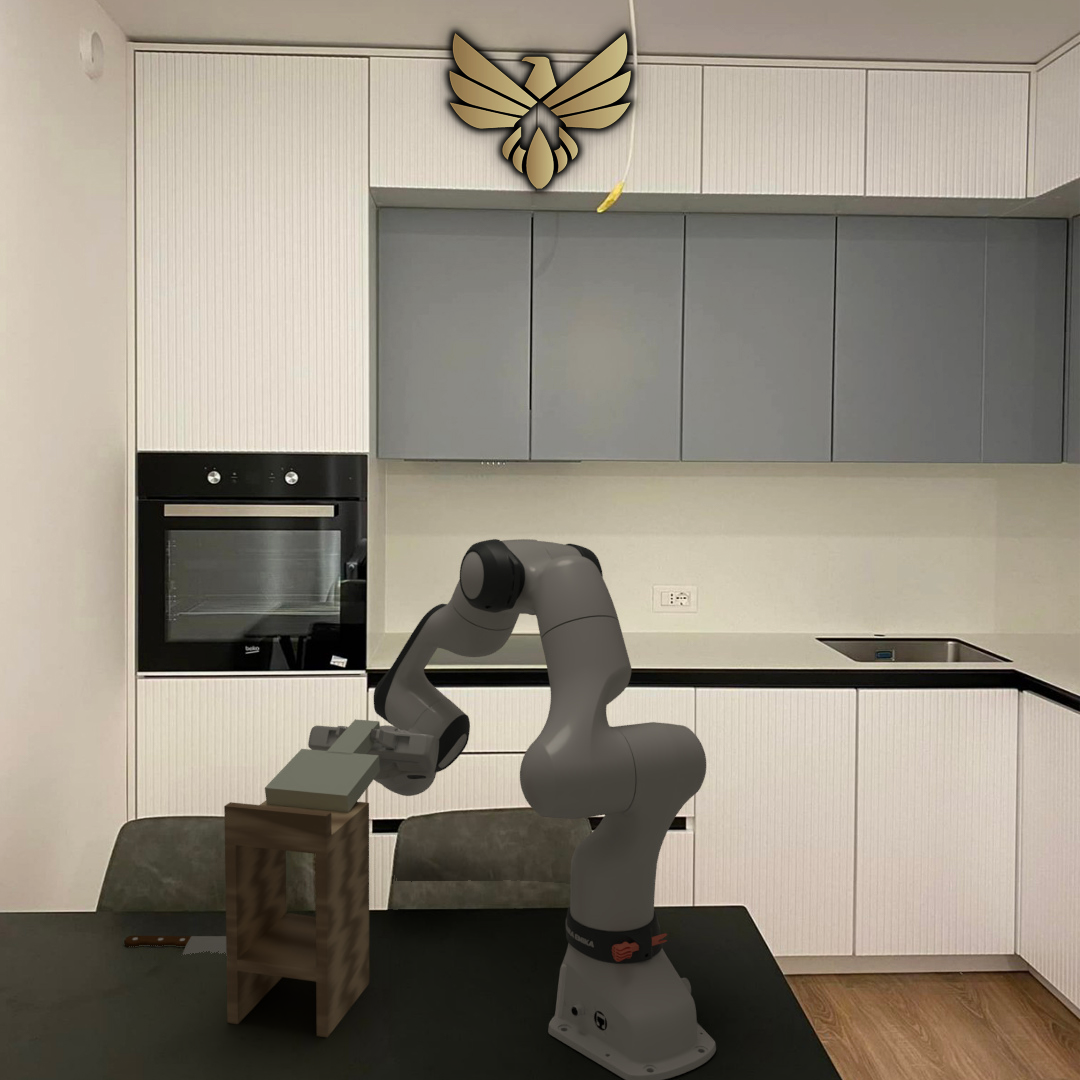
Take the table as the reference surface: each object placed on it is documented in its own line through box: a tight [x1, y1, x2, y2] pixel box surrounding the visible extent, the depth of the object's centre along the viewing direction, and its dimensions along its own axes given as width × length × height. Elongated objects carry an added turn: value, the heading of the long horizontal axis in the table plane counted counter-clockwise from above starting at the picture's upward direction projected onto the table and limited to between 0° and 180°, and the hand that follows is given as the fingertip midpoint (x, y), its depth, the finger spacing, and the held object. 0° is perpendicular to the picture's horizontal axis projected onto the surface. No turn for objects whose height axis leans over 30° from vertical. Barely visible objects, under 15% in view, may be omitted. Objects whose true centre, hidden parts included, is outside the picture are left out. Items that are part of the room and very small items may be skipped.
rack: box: [223, 800, 370, 1038], centre depth 143 cm, size 14×14×29 cm
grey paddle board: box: [264, 719, 381, 812], centre depth 154 cm, size 22×12×2 cm, turn 167°
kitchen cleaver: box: [123, 934, 226, 955], centre depth 158 cm, size 24×1×10 cm
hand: (357, 732), depth 160 cm, fingers closed on grey paddle board, 4 cm apart
